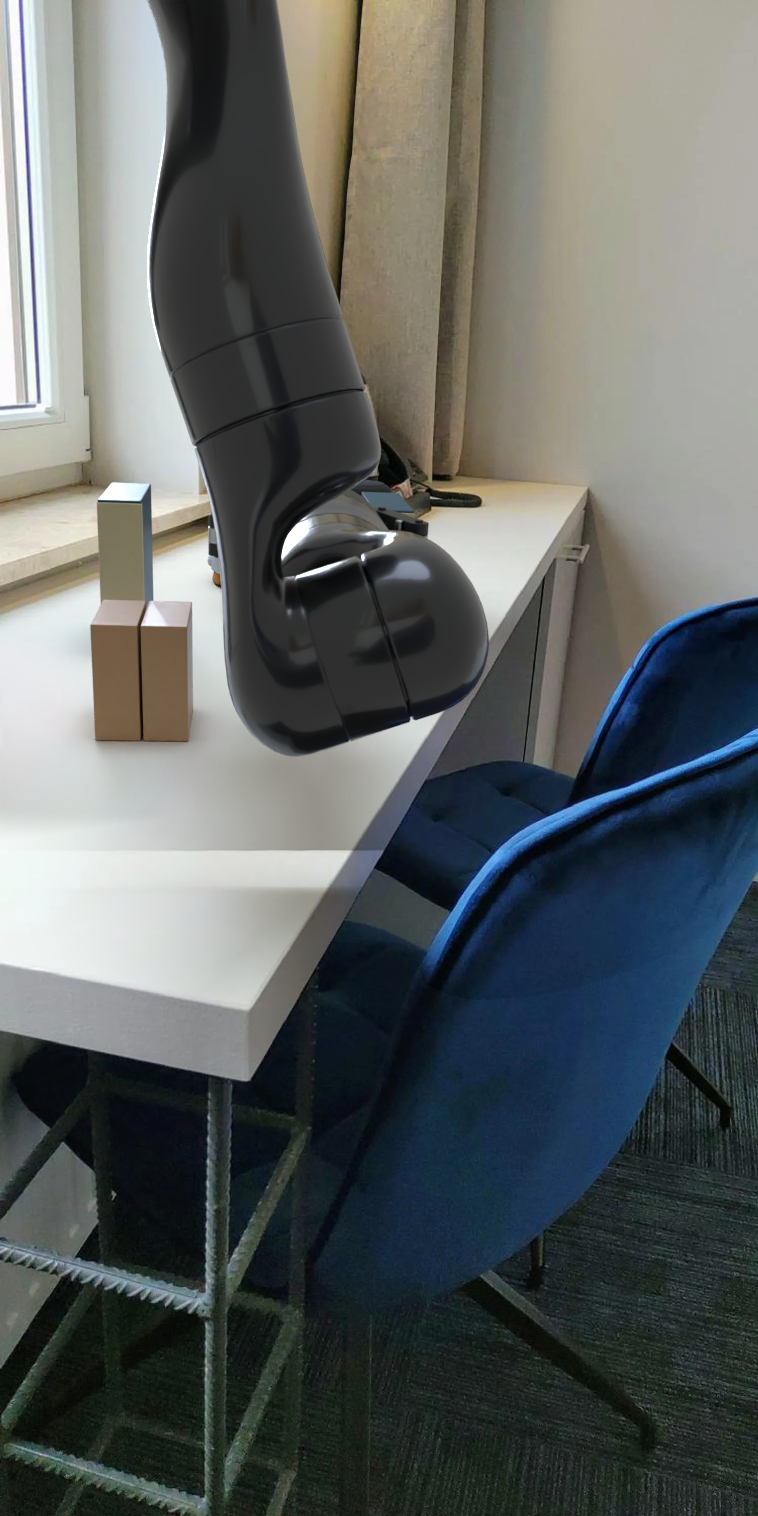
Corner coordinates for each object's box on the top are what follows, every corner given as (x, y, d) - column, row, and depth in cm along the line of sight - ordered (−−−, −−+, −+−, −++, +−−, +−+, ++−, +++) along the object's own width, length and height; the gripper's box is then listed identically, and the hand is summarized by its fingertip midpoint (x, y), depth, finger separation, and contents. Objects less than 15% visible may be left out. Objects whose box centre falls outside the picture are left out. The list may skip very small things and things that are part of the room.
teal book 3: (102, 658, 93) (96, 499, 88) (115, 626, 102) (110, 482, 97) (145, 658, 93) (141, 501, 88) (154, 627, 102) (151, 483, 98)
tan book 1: (95, 740, 75) (90, 624, 72) (107, 706, 81) (102, 599, 78) (140, 740, 75) (137, 625, 72) (148, 707, 82) (146, 600, 79)
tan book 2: (143, 740, 75) (140, 625, 72) (151, 707, 82) (149, 600, 79) (188, 741, 76) (187, 626, 73) (193, 708, 82) (192, 601, 79)
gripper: (462, 499, 59) (416, 461, 75) (194, 488, 58) (206, 451, 74) (451, 636, 62) (409, 571, 78) (195, 628, 60) (205, 564, 76)
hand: (310, 513), depth 76 cm, fingers closed on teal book, 3 cm apart
